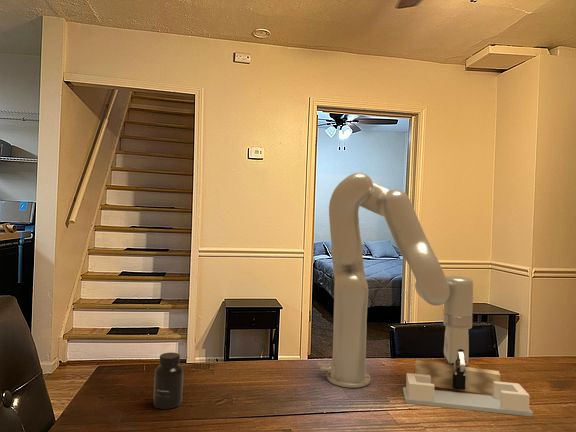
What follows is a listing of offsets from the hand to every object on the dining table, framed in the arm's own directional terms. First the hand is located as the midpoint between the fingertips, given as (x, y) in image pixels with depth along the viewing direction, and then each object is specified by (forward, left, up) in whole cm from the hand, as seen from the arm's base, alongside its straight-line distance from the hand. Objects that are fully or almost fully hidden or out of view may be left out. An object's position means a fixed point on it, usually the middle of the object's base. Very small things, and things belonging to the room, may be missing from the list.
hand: (455, 383), depth 118 cm
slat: (0, 0, -1) cm, 1 cm away
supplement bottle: (-73, -29, -1) cm, 79 cm away
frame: (0, -10, -1) cm, 10 cm away
